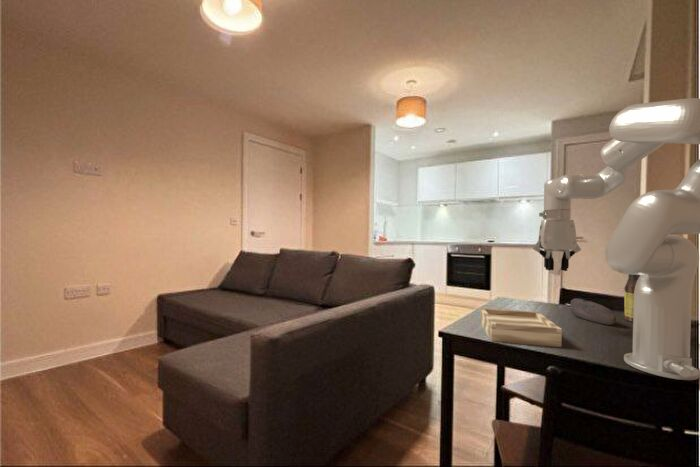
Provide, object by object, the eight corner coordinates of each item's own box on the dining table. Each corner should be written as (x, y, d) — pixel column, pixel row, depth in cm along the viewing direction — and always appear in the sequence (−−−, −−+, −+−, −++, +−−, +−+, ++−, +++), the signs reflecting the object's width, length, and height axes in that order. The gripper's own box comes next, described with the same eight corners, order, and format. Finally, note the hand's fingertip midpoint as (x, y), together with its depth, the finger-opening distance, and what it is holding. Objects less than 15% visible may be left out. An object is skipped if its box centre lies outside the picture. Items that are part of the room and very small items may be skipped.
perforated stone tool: (621, 327, 104) (622, 307, 104) (609, 328, 103) (609, 307, 103) (579, 315, 118) (579, 297, 118) (568, 316, 117) (568, 297, 117)
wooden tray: (561, 348, 86) (561, 328, 85) (491, 342, 90) (491, 323, 90) (537, 328, 103) (538, 312, 103) (480, 324, 107) (480, 308, 107)
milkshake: (559, 276, 101) (561, 245, 101) (544, 273, 106) (545, 244, 106) (568, 276, 103) (570, 246, 103) (552, 273, 108) (554, 245, 107)
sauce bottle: (638, 319, 114) (639, 265, 113) (653, 324, 108) (654, 267, 107) (618, 318, 114) (620, 264, 114) (632, 323, 108) (634, 266, 108)
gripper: (532, 215, 103) (532, 270, 103) (591, 215, 98) (590, 272, 99) (525, 216, 110) (525, 268, 110) (580, 216, 106) (579, 269, 106)
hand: (556, 269), depth 104 cm, fingers closed on milkshake, 4 cm apart
